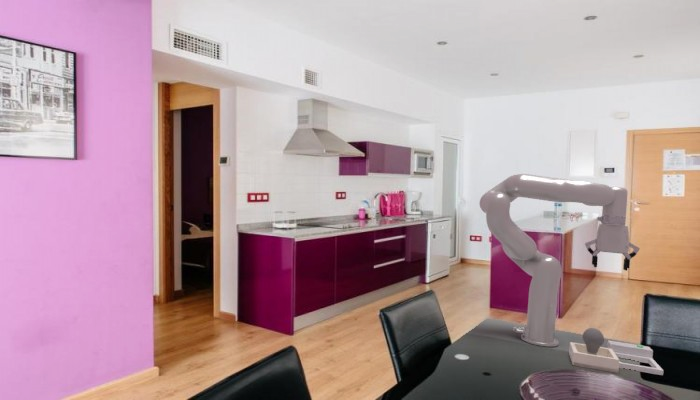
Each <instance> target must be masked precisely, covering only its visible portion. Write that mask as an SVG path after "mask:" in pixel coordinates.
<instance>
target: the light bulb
mask: <svg viewBox="0 0 700 400" xmlns="http://www.w3.org/2000/svg"><path fill="white" fill-rule="evenodd" d="M582 341H583V343H584V344H586V348H587V351H588V353H587V354H592V355H597V352H598V349H599V348H600V347H602V345H603V344H604V341H605V337H604V334H603V333H602V331H600V330H599V329H597V328H594V327H590V328H587V329H585V330H584V331H583V333H582Z"/></svg>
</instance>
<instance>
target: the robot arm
mask: <svg viewBox="0 0 700 400" xmlns="http://www.w3.org/2000/svg"><path fill="white" fill-rule="evenodd" d="M517 198H525V199H526V198H528V199H533V200H539V201H541V200H542V201H546V202H555V203H556V202H557V203H577V204H578V203H579V204H582V205H585V206H589V207H602V209H601V216H597V218H596V219H597V220H596V221H599V222H601V223H599V225H598V228H597V233H596V238H595V239H592V240H590V241H587V242H585V243H584V246H585V248H586V250H587V252H589V254H590V255H591V256H592V257H591V265H593V267H594V268H597V267H598V258H599V257H598V254H600V252H602V253H609V254H610V253H612V254H620V255H621V254H622V255H623V256H624V259H623V266H622V267H623V270H624V271H628V269H630V265H631V263H630V261H631V259H633V258H634V257H635V256H636V255H637V253H638V252H639V251H640V247H639V246H637V245H635V244H633V243H632V242H630V232H629V227H628V226H627V225H626V223H627V222H626V219H627V218H626V217H627V206H628V189H627V188H625V187H619V186H609V185H608V184H607V185H606V184H603V183H596V182H589V181H581V180H572V179H565V178H558V177H557V178H556V177H550V176H544V175H543V176H541V175H536V174H529V173H519V174H513V175H511V176H509V177H507V178H505V179H504V180H503V181H502V182H500V183H498V184H497V185H495V186H494V187H492V188H491V189H490V190H488V191H486V192H485V193H484V194H483V195H482V196H481V197H480V199H479V207H480V210H481V211H482V212H483V213H485V218H486V225H487V227H488V230H489V231H490V233H491V234H492V236H494V238H495V239H496V240H498V242H500V244H501V247H502V250H503V252H504V253H505V255H506V256H507V257H508V258H509V259H510V260H511V261H512V262H514V263H515V264H516V265H517V266H518V267H519V268H520V269H521V270H522V271H523V272H525V273H526V274H527V275H528V276H531V277H532V278H531V280H530V284H529V291H528V302H527V303H528V304H527V314H526V315H527V317H526V324H525V326H517V325H513V329H512V331H513V332H515V333H517V334H521V336H520V339H521V340H522V341H524V342H526V343H528V344H531V345H534V346H540V347H549V348H550V347H553V348H554V347H557V346H559V344H560V343H559V342H560V341H559V339H557V338H555V333H556V321H557V320H556V318H557V305H558V294H559V293H558V292H559V286H560V281H561V277H562V272H563V271H562V265H561V262H560V261H559V260H558V259H557V258H556V257H554V256H553V255H550V254H547V253H544V252H543V253H542V252H541V251H540V250H538V246H537V243H536V241H534V239H533V238H532V237H531V236H530V235H528V234H527V233H526V232H525V231H524V230H523V229H521V228H520V227H519V225H517V224H516V223H515V222H514V221H513V220H512V218H511V215H510V214H511V213H510V210H511V203H512V202H514V201H515V200H516V199H517ZM592 245H595V249H594V250H593V249H592V248H591V246H592ZM630 248H631V249H633V251H632V252H630V253H629V250H630Z"/></svg>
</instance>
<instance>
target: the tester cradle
mask: <svg viewBox="0 0 700 400" xmlns="http://www.w3.org/2000/svg"><path fill="white" fill-rule="evenodd" d="M606 344H607V345H606V348H610V349H612V350H613V351H614V353H615V354H616V356H617V357H621V358H626V359H631V360H635V361H634V362H637V361H639V363H645V364H649V365H650V366H645V365H639V364H633V363H627V362H621V361H620V359H619V369H623V368H625V369H624V370H629V369H631V370H630V371H634V370H636V371H635V372H641V373H647V374H652V375H657V376H658V375H659V376H664V369H663V368H662V367H661V365H659V364H658V363H657V362H656V360H654V357H653V356H654V350H653V349H652V348H651V347H650V346H647V345H643V344H638V343H637V344H634V343H627V342H621V341H614V340H607V343H606ZM631 360H630V361H631Z"/></svg>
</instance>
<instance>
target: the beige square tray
mask: <svg viewBox="0 0 700 400" xmlns="http://www.w3.org/2000/svg"><path fill="white" fill-rule="evenodd" d="M568 350H569V351H568V355H569V359H570V360H571V364H572V366H576V367H580V368H586V369H590V370H591V369H593V370H598V371H602V372H610V373H613V374H614V373H615V374H619V372H620V370H619V369H620V368H619V360H620V359H619V358H618V357H617V356H616V354H615V353H614V351H613V350H612V349H610V348H607V347H603V346H600V348H599V349H598V352H597V355H592V354H587V353H588V351H587V348H586V344H585V343H579V342H574V341H573V342H572V341H571V342H569V349H568Z"/></svg>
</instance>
